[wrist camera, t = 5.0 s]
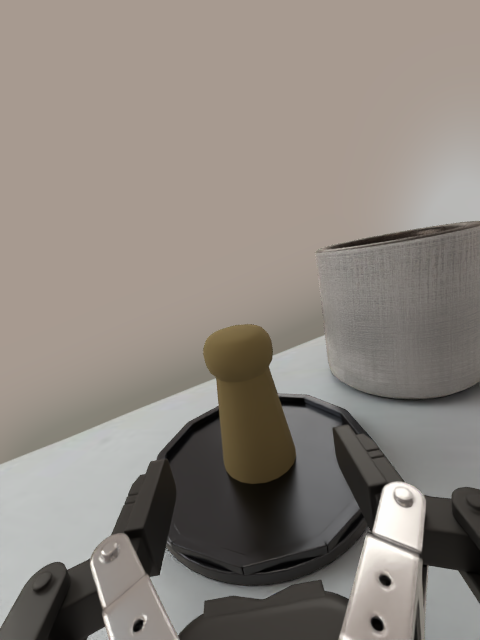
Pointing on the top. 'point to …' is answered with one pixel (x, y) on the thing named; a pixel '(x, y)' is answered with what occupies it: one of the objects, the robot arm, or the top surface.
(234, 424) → the cork
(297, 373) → the top surface
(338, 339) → the planter
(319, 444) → the metal plate
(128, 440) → the top surface
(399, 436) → the top surface
